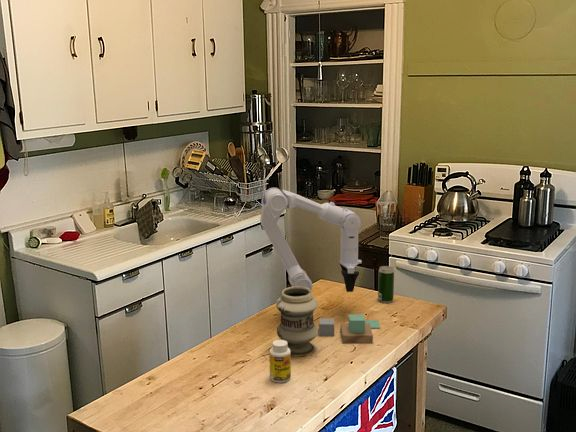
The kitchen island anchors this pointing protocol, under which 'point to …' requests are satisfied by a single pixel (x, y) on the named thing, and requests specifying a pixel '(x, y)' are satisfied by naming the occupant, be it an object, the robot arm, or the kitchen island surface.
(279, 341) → the supplement bottle
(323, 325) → the slate block
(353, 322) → the teal block
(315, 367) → the kitchen island surface
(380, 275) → the beer can
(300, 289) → the apothecary jar
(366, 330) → the walnut block
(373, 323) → the teal square tile
